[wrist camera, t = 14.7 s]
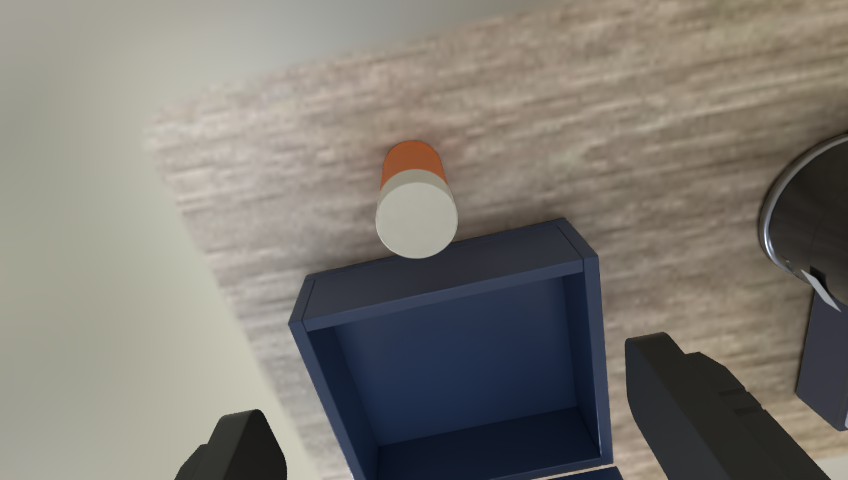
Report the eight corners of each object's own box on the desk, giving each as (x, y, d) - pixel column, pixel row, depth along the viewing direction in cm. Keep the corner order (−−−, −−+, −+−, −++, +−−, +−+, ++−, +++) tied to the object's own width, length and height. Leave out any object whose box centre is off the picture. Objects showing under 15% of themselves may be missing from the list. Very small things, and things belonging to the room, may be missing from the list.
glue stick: (399, 128, 26) (399, 167, 18) (453, 157, 27) (473, 206, 19) (371, 181, 27) (361, 237, 20) (424, 208, 28) (432, 271, 21)
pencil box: (305, 275, 29) (287, 323, 24) (565, 216, 28) (598, 255, 24) (371, 447, 36) (367, 512, 31) (584, 403, 35) (614, 463, 30)
